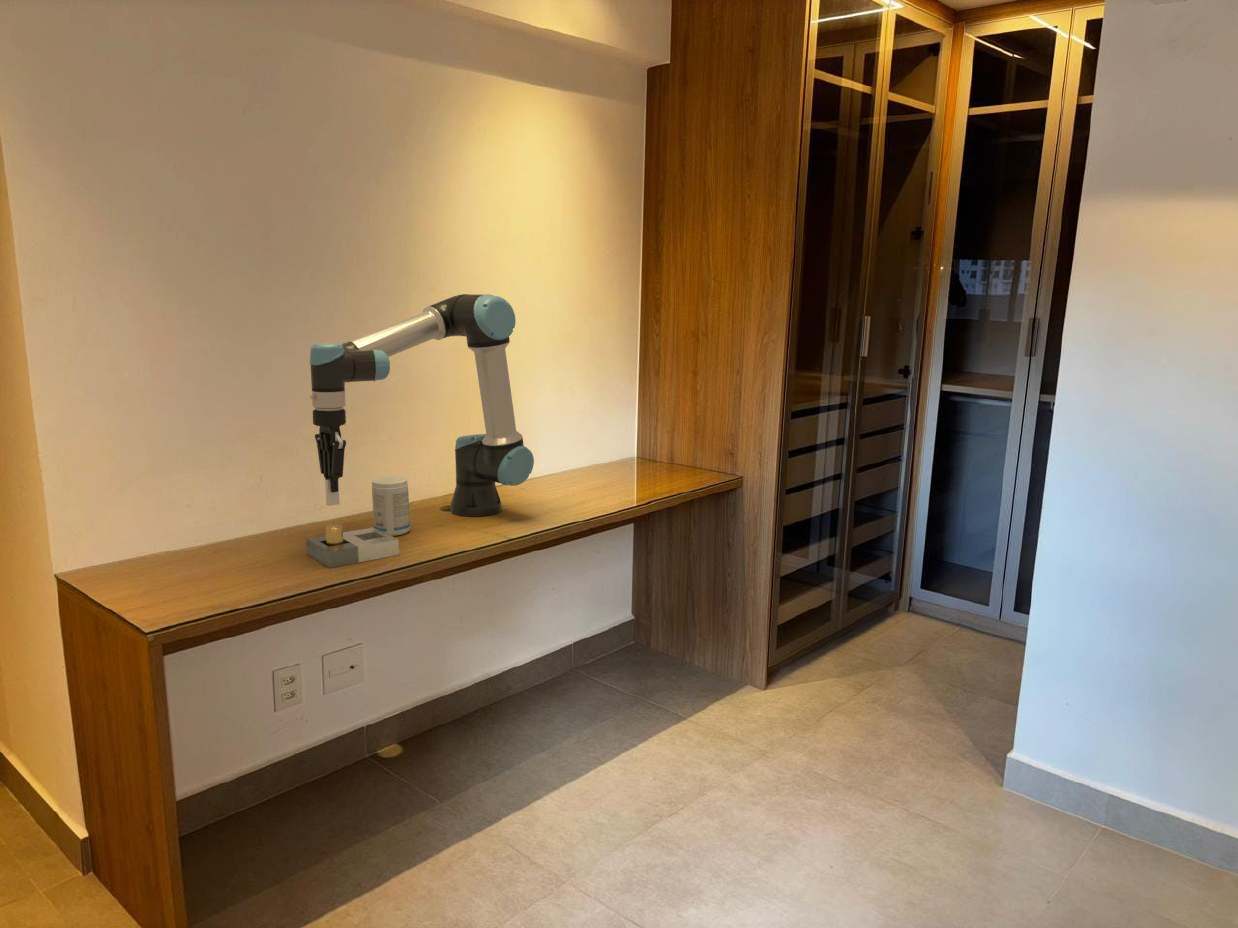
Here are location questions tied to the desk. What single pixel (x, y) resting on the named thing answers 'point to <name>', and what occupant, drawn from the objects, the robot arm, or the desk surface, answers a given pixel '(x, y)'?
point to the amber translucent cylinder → (334, 535)
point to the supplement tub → (391, 505)
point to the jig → (353, 547)
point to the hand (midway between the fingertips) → (332, 504)
